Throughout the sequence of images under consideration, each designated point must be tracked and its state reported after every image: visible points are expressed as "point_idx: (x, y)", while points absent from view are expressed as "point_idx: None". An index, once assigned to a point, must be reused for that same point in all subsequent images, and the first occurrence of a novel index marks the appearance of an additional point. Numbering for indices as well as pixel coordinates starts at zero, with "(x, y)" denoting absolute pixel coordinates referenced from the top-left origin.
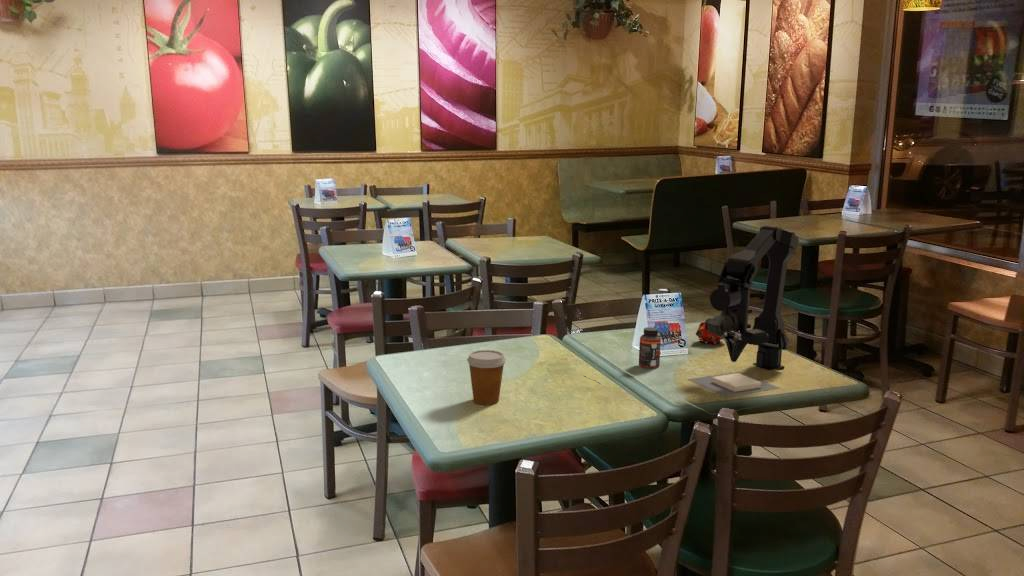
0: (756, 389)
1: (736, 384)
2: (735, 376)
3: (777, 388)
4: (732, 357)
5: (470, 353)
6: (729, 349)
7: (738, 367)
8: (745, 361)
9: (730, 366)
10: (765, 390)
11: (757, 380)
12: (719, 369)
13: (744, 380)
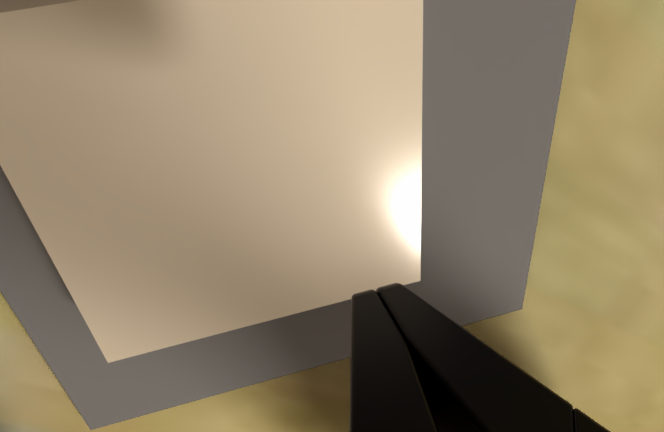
0: None
1: (45, 100)
2: (342, 220)
3: (83, 415)
4: (380, 337)
5: None
6: (523, 426)
7: (593, 334)
8: (636, 392)
9: (635, 301)
10: (28, 331)
11: (303, 353)
12: (643, 216)
13: (197, 249)
